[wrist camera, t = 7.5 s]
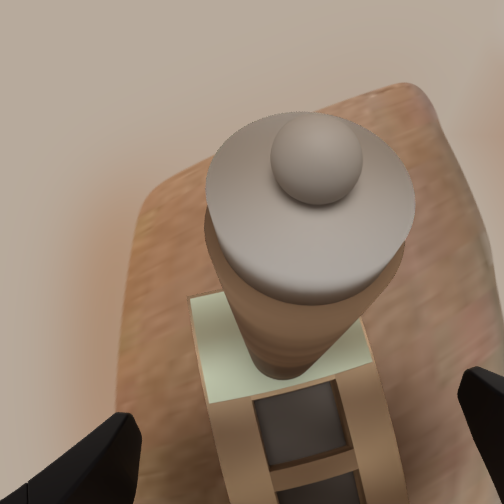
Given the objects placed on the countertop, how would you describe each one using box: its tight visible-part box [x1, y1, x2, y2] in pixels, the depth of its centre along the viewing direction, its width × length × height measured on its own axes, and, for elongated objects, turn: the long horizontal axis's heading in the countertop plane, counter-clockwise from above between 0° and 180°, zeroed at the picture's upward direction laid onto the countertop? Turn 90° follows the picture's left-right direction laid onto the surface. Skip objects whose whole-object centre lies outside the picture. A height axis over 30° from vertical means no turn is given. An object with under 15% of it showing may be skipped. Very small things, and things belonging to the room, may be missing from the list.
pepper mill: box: [204, 112, 415, 380], centre depth 10 cm, size 3×3×14 cm
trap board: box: [187, 289, 410, 504], centre depth 15 cm, size 16×9×2 cm, turn 13°
